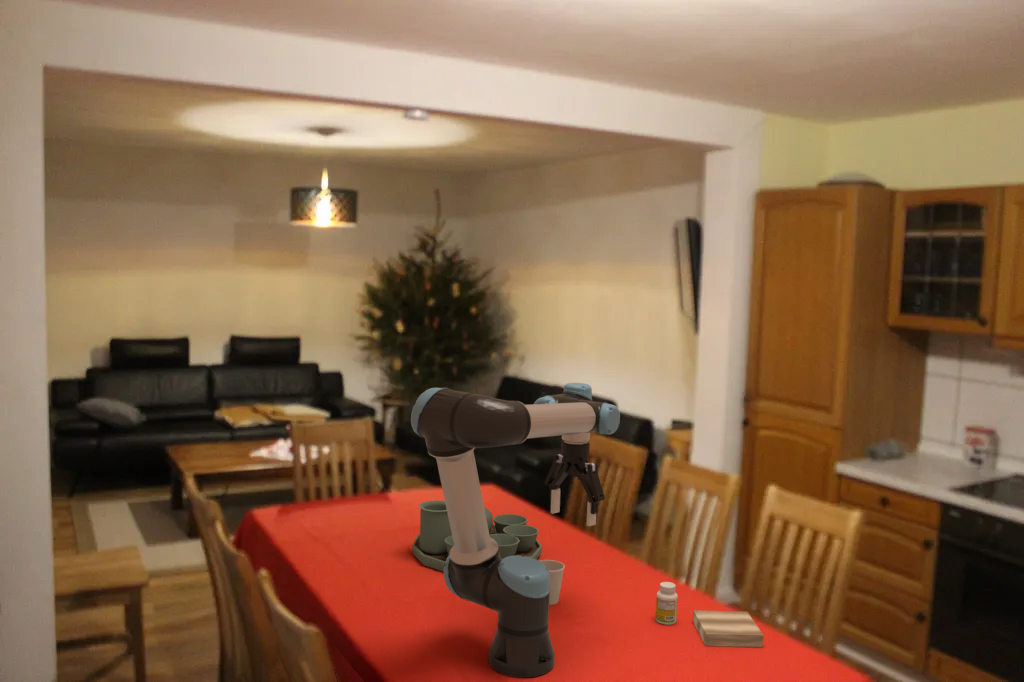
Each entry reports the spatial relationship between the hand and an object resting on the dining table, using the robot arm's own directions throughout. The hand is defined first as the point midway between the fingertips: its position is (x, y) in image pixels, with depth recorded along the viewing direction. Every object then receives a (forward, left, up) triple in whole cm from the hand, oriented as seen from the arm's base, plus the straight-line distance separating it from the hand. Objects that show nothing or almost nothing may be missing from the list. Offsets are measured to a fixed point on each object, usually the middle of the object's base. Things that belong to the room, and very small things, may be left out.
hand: (572, 518), depth 234 cm
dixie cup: (0, +6, -23) cm, 24 cm away
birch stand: (-18, -38, -23) cm, 48 cm away
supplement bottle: (-11, -24, -23) cm, 35 cm away
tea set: (+36, +26, -23) cm, 50 cm away
